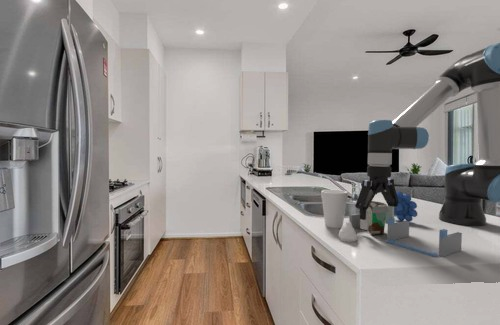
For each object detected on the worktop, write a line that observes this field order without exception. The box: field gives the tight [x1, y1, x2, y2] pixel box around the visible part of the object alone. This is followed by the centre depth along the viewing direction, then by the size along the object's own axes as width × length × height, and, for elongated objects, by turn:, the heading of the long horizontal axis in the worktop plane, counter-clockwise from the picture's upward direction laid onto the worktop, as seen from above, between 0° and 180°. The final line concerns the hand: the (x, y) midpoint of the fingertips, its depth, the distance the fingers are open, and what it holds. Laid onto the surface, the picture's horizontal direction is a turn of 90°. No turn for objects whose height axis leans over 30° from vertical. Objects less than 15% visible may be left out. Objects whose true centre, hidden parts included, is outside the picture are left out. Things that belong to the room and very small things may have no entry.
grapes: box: [387, 190, 418, 223], centre depth 112 cm, size 12×7×12 cm, turn 38°
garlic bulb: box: [338, 220, 358, 243], centre depth 88 cm, size 6×6×5 cm
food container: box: [366, 200, 388, 237], centre depth 96 cm, size 12×6×10 cm, turn 168°
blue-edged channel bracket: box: [348, 212, 463, 258], centre depth 89 cm, size 12×31×7 cm, turn 30°
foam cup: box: [320, 189, 349, 229], centre depth 104 cm, size 10×9×13 cm
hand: (377, 226), depth 96 cm, fingers open, 13 cm apart
